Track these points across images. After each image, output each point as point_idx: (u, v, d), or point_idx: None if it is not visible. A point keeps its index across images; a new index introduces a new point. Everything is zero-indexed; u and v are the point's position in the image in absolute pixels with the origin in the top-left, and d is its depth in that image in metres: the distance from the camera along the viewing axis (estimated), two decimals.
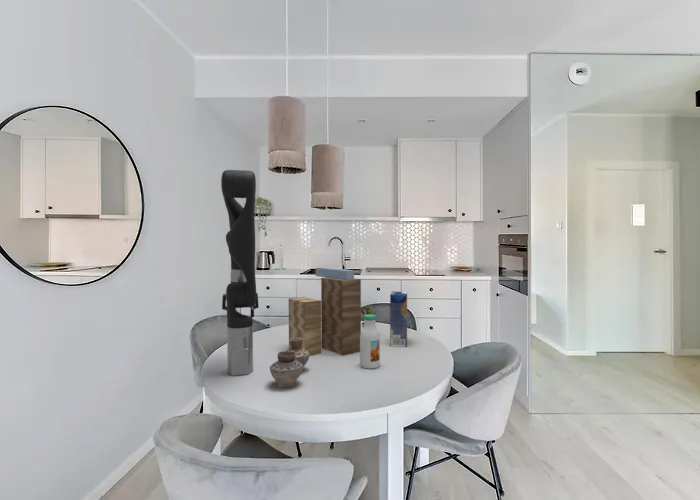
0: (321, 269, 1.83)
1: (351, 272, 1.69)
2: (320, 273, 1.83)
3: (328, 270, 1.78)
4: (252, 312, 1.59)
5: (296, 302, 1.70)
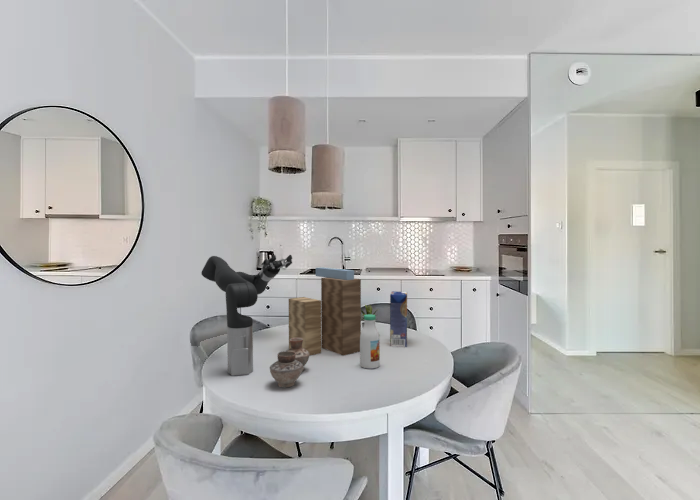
0: (321, 269, 1.83)
1: (351, 272, 1.69)
2: (320, 273, 1.83)
3: (328, 270, 1.78)
4: None
5: (296, 302, 1.70)
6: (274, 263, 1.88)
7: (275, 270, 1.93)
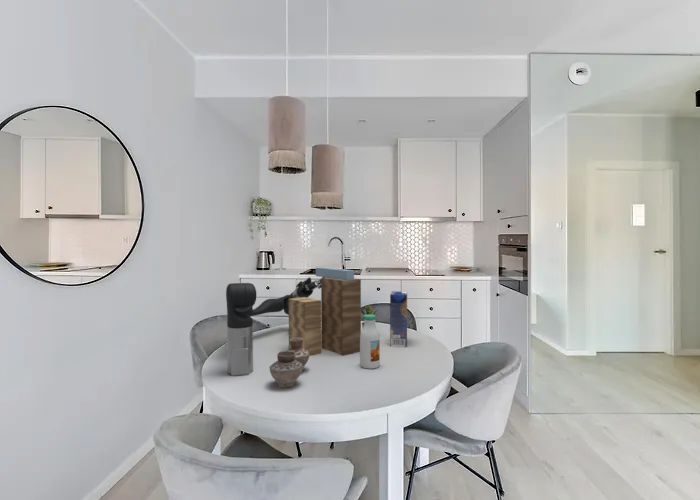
0: (321, 269, 1.83)
1: (351, 272, 1.69)
2: (320, 273, 1.83)
3: (328, 270, 1.78)
4: None
5: (296, 302, 1.70)
6: (308, 285, 1.92)
7: (309, 291, 1.96)
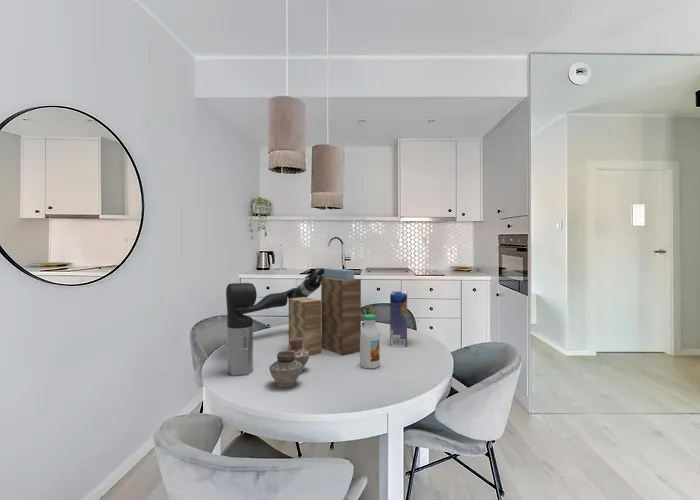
0: None
1: (351, 272, 1.69)
2: None
3: (328, 270, 1.78)
4: None
5: (296, 302, 1.70)
6: (318, 277, 1.87)
7: (316, 284, 1.91)
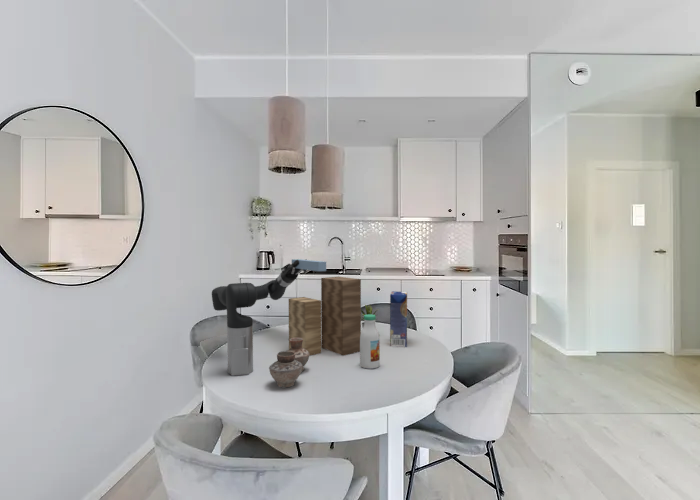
0: None
1: (323, 263, 1.71)
2: None
3: (302, 261, 1.80)
4: None
5: (296, 302, 1.70)
6: (294, 268, 1.88)
7: (293, 275, 1.92)
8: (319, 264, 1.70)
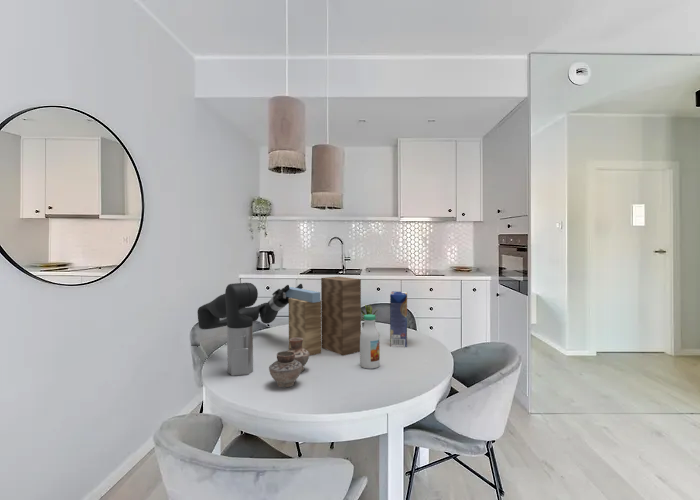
0: (289, 289, 1.78)
1: (317, 294, 1.65)
2: (288, 294, 1.79)
3: (295, 291, 1.74)
4: None
5: (296, 302, 1.70)
6: None
7: (286, 300, 1.86)
8: (313, 295, 1.64)
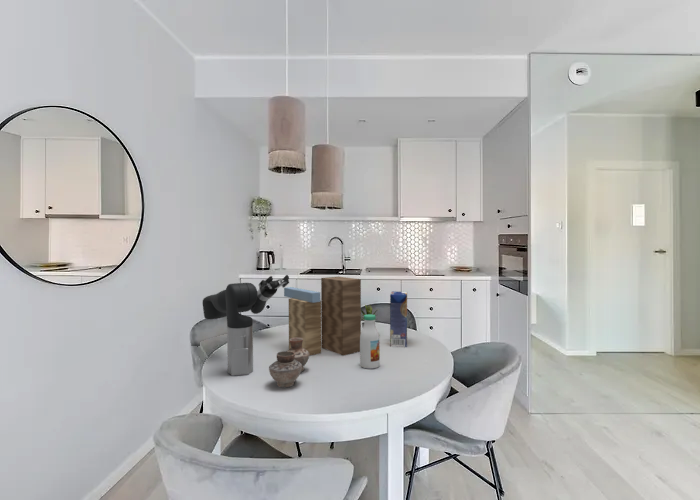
0: (289, 289, 1.78)
1: (317, 294, 1.65)
2: (288, 294, 1.79)
3: (295, 291, 1.74)
4: None
5: (296, 302, 1.70)
6: (271, 283, 1.90)
7: (272, 290, 1.95)
8: (313, 295, 1.64)
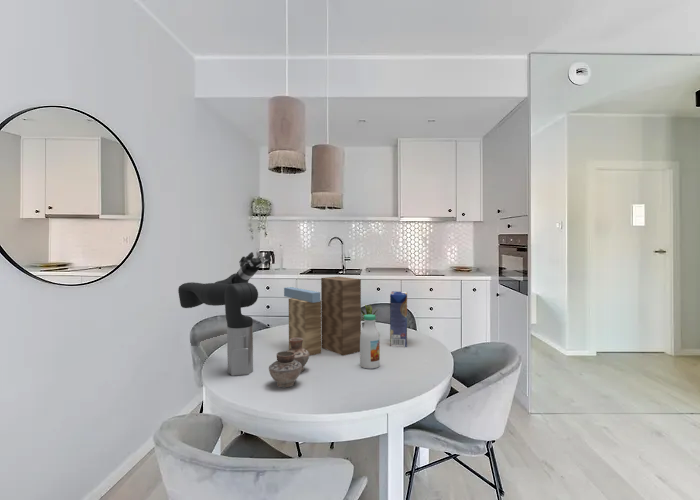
0: (289, 289, 1.78)
1: (317, 294, 1.65)
2: (288, 294, 1.79)
3: (295, 291, 1.74)
4: None
5: (296, 302, 1.70)
6: (252, 260, 1.84)
7: (254, 268, 1.89)
8: (313, 295, 1.64)
